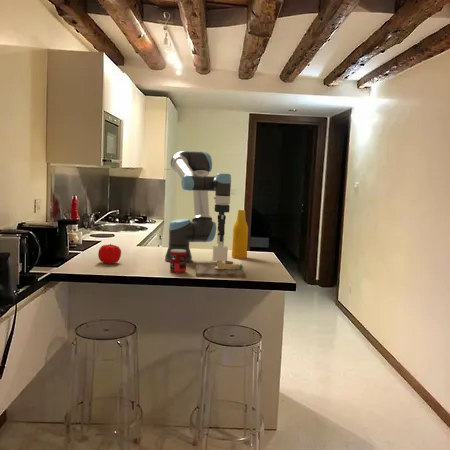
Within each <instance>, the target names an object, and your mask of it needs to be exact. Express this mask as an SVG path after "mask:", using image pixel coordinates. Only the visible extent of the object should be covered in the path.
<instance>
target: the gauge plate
mask: <svg viewBox="0 0 450 450" xmlns="http://www.w3.org/2000/svg"><path fill="white" fill-rule="evenodd" d="M224 262H225V263H224V264H234V262H233V261H232V260H227V261H224ZM216 266H217V263H215V264H213V263H210V264H209V263H195V277H211V278H212V277H213V278H236V279H237V278H239V279H240V278H241V279H242V278H244V279H245V278H246V273H245V271H244V268H243V264H241V263H240V264H239V269H236V268H228V269H215V268H214V267H216Z"/></svg>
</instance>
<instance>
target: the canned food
mask: <svg viewBox="0 0 450 450" xmlns="http://www.w3.org/2000/svg"><path fill="white" fill-rule="evenodd" d="M186 253H187V252H186V250H183V249H172V250H171V253H170V262H169V271H170V273H172V274H184V273H186V271H187V262H186Z"/></svg>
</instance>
